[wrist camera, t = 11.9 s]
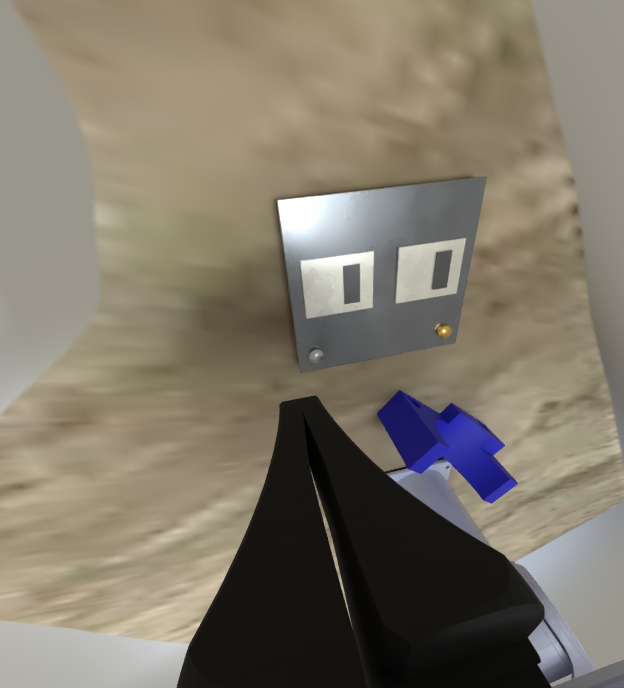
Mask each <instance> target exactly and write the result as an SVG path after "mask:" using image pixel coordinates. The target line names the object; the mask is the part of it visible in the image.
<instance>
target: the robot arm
mask: <svg viewBox="0 0 624 688" xmlns="http://www.w3.org/2000/svg"><path fill="white" fill-rule="evenodd" d="M279 408H280V415H279V425H278V432H277V437H276V442H275V447H274V451H273V456H272V459H271V463H270V466H269V470H268V474H267V477H266V480H265V483H264V486H263V489H262V492H261V495H260V498H259V501H258V504H257V506H256V509H255V511H254V514H253V516H252V519H251V521H250V524H249V526H248V529H247V531H246V534H245V536H244V538H243V540H242V543H241V545H240V547H239V549H238V551H237V553H236V556H235V558H234V560H233V562H232V564H231V566H230V568H229V570H228V572H227V574H226V577H225V579H224V581H223V583H222V585H221V587H220V589H219V591H218V593H217V595H216V596H215V598H214V600H213V602H212V604H211V606H210V608H209V609H208V611H207V613H206V615H205V617H204V619H203V620H202V622H201V624H200V626H199V628H198V630H197V632H196V633H195V635H194V637H193V639H192V641H191V643H190V645H189V647H188V650H187V653H186V656H185V659H184V663H183V666H182V670H181V673H180V677H179V681H178V684H177V688H624V660H622V661H619V662H616V663H614V664H611V665H609V666H606V667H603V668H601V669H598V670H597V669H596V668H595V667H594V666H593V664H592V662H591V661H590V660H589V658H588V657H587V654H586V652H585V650H584V649H583V647H582V646H581V644H580V643H579V641H578V639H577V638H576V637H575V635H574V634H573V632H572V631H571V629H570V628H569V626H568V625H567V623H566V622H565V621H564V619H563V618H562V616H561V615H560V614H559V612H558V611H557V609H556V608H555V606H554V605H553V604H552V602H551V601H550V600H549V599H548V597H547V596H546V594H545V593H544V591H543V590H542V589H541V587H540V586H539V585H538V583H537V582H536V581H535V579H534V578H533V577H532V576H531V574H530V573H529V572H528V571H527V569H526V568H525V567H524V566H521V565H519V564H516V563H515V562H514V561H509V560H508V559H507V558H506V557H505V555H503V554H502V553H500V552H498V551H497V550H495V549H493V548H492V547H491V546H490V544H489V543H488V541H487V540H486V538H485V537H484V535H483V534H482V532H481V531H480V529H479V528H478V526H477V525H476V523H475V522H474V520H473V519H472V517H471V516H470V514H469V513H468V511H467V510H466V509H465V507H464V506H463V504H462V503H461V501H460V500H459V498H458V497H457V495H456V494H455V492H454V491H453V489H452V488H451V486H450V485H449V483H448V479H449V475H450V470H451V466H452V465H451V464H450V463H449V462H448V461H447V460H446V459H442V460H438V461H436V462H435V463H433V464H432V465H431V466H430V467H429V468H428V469H427V470H425V471H424V472H423V473H422V474H419V473H417V472H414V471H412V470H409V469H408V468H407V469H403V470H399V471H395V472H391V473H387V474H386V473H385V472H384V471H383V470H382V469H380V468H379V467H378V466H377V465H376V464H375V463H374V462H373V461H372V460H371V459H370V458H369V457H368V456H366V455H365V454H364V453H363V452H362V451H361V450H360V448H359V447H358V446H357V445H356V444H355V443H354V442H353V441H352V440H351V439H350V438H349V437H348V436H347V435H346V433H345V432H344V431H343V430H342V429H341V428H340V427H339V425H338V424H337V423H336V422H335V421H334V419H333V418H332V417H331V415H330V414H329V413H328V412H327V410H326V409H325V407H324V406H323V404H322V403H321V401H320V400H319V398H318V397H317V396H310V397H305V398H300V399H295V400H290V401H285V402H282V403H281V404H280V405H279ZM310 468H311V470H310ZM311 472H312V475H313V478H314V481H315V484H316V487H317V490H318V494H319V497H320V500H321V503H322V506H323V509H324V512H325V516H326V519H327V522H328V525H329V529H330V532H331V536H332V539H333V544H334V548H335V552H336V557H337V561H338V565H339V570H340V574H341V578H342V583H343V587H344V592H345V596H346V601H347V605H348V609H349V614H350V618H351V622H350V618H349V615H348V611H347V608H346V604H345V600H344V597H343V593H342V589H341V586H340V582H339V578H338V575H337V571H336V568H335V564H334V560H333V556H332V553H331V549H330V545H329V541H328V537H327V534H326V530H325V526H324V522H323V518H322V514H321V511H320V507H319V503H318V499H317V495H316V491H315V487H314V483H313V479H312V475H311ZM351 623H352V625H351ZM352 628H353V629H352ZM556 639H557V640H556ZM558 642H559V643H558ZM560 645H561V646H560ZM562 648H563V649H562ZM564 651H565V652H564ZM566 654H567V655H566ZM571 673H572V679H571V680H569V681H567V682H564V683H561V684H559V685H556V686H553V687H551V686H550V683H552V682H554V681H556V680H559V679H561V678H563V677H565V676H568V675H570V674H571Z"/></svg>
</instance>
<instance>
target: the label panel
mask: <svg viewBox="0 0 624 688" xmlns="http://www.w3.org/2000/svg"><path fill="white" fill-rule="evenodd" d="M486 179H487V177H469V178H460V179H451V180H442V181H433V182H424V183H416V184H407V185H398V186H389V187H380V188H371V189H362V190H354V191H345V192H336V193H327V194H318V195H309V196H301V197H292V198H283V199H276V206H277V213H278V221H279V228H280V235H281V242H282V250H283V257H284V264H285V272H286V279H287V286H288V293H289V301H290V308H291V315H292V323H293V330H294V337H295V345H296V352H297V359H298V365H299V368H300V372H301V373H303V372H308V371H314V370H319V369H324V368H329V367H334V366H339V365H344V364H350V363H355V362H360V361H365V360H370V359H375V358H381V357H386V356H391V355H396V354H401V353H406V352H411V351H417V350H422V349H427V348H432V347H437V346H442V345H448V344H453V343H455V341H456V336H457V331H458V326H459V320H460V315H461V310H462V305H463V299H464V294H465V289H466V284H467V278H468V273H469V268H470V263H471V258H472V252H473V247H474V242H475V237H476V231H477V226H478V221H479V216H480V210H481V205H482V200H483V195H484V189H485V184H486Z"/></svg>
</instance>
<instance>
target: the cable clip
mask: <svg viewBox="0 0 624 688" xmlns="http://www.w3.org/2000/svg"><path fill="white" fill-rule="evenodd" d="M377 415H378V417H379V418H380V420H381V422H382V424H383V425H384V427H385V429H386V431H387V432H388V434H389V436H390V438H391V439H392V441H393V443H394V445H395V446H396V448H397V450H398V452H399V453H400V455H401V457H402V459H403V460H404V462H405V464H406V466H407V468H408V469H409V470H412V471H414V472H417V473H419V474H422V473H423V472H424V471H425V470H427V469H428V468H429V467H430V466H431V465H432V464H433V463H435V462H436V461H437V460H438V459H439V458H440V457H441V456H442V457H443V458H444V459H446V460H447V461H448V462H449V463H450V464H451V465H452V466H453V467H454V468H455V469H456V470H457V471H458V472H459V473H460V474H461V475H462V476H463V477H464V478H465V479H466V480H467V481H468V482H469V483H470V484H471V486H472V487H473V488H474V489H475V490H476V492H477V493H478V494H479V495H480V497H481V498H482V499H483V500H484V501H486V502H489V503H491V504H492V503H493V502H494V501H496V500H497V499H498V498H500V497H501V496H502V495H504V494H505V493H506V492H508V491H509V490H510V489H512V488H513V487H514V486H515V485H517V484H518V483H517V482H516V480H515V479H514V478H513V477H512V476H511V475H510V474H509V473H508V472H507V471H506V469H505V468H504V467H503V466H502V465H501V464H500V463H499V462H498V461H497V459H496V458H495V457H494V456H493V455H494V454H496V453H497V452H498V451H499V450H500V449H502V448H503V447H504V446H505V445H504V444H503V443H502V442H501V441H500V440H499V439H498V438H497V437H496V436H495V435H494V434H493V433H492V432H491V431H490V430H489V429H488V428H487V426H486V425H485V424H483V423H482V422H480V421H479V420H477V419H475V418H474V417H472V416H471V415H469V414H468V413H466V412H465V411H463V410H461V409H460V408H458V407H457V406H455V405H454V404H452V403H451V404H450V405H449V406H448V407H447V408H446V409H445V410H444V411H443V412H442V413H440V414H439V413H438V412H436V411H434V410H432V409H431V408H429V407H427V406H426V405H424V404H422V403H421V402H419V401H417V400H416V399H414V398H412V397H411V396H409V395H407V394H406V393H404V392H402V391H400V390H399V391H398V392H397V393H396V395H395V396H394V397H393V398H392V399H391V400H390V401H389V402H388V403H387V404H386V405H385V406H384V407H383V408H382V409H381V410H380V411H379V412H378V413H377Z"/></svg>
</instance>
